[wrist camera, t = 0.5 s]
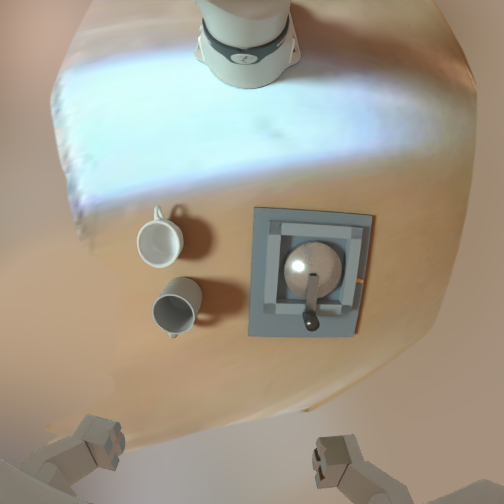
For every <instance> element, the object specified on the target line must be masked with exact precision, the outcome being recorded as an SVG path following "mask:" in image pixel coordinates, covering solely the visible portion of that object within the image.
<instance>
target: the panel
mask: <svg viewBox="0 0 504 504" xmlns="http://www.w3.org/2000/svg"><path fill="white" fill-rule="evenodd" d="M371 224H372V216H371V215H364V214H352V213H340V212H327V211H313V210H298V209H282V208H263V207H254V223H253V244H252V265H251V286H250V307H249V327H248V336H259V337H354V332H355V328H356V323H357V318H358V313H359V307H360V302H361V296H362V290H363V284H364V278H365V271H366V265H367V257H368V250H369V242H370V234H371ZM310 240H315V241H320V242H323V243H325V244H327V245H328V246H330V247H331V248H332V249H333V250H334V251H335V252H336V253H337V255H338V257H339V259H340V261H341V267H342V271H341V277H340V280H339V282H338V284H337V285H336V287H335V288H334V289H333V290H332V291H331V292H330V293H328V294H327V295H325V296H323V297H320V298H317V302H316V309H315V314H316V316H317V318H318V320H319V323H320V326H319V328H318V329H317V330H316V331H313V332H311V331H308V330H307V329H306V326H305V324H304V321H303V318H302V313H303V312H304V309H305V300H306V298H302V297H299V296H297V295H296V294H294V293H293V292H292V291H291V290H290V288H289V287H288V285H287V283H286V281H285V277H284V273H283V266H284V261H285V258H286V256H287V255H288V253H289V252H290V250H291V249H292V248H294V247H295V246H296V245H298V244H300V243H302V242H305V241H310Z"/></svg>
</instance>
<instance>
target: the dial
mask: <svg viewBox="0 0 504 504" xmlns="http://www.w3.org/2000/svg"><path fill="white" fill-rule="evenodd" d="M341 271H342V267H341V261H340V259H339V257H338V255H337V253H336V252H335V251H334V250H333V249H332V248H331V247H330V246H328V245H327V244H325V243H323V242H320V241H315V240H310V241H305V242H302V243H300V244H298V245H296V246H295V247H294V248H292V249H291V250H290V252H289V253H288V255H287V256H286V258H285V261H284V266H283V273H284V277H285V281H286V283H287V285H288V287H289V288H290V290H291V291H292V292H293V293H294V294H296V295H297V296H299V297H302V298H306V300H305V309H304V312H303V313H302V318H303V321H304V324H305V326H306V329H307V330H308V331H311V332H313V331H316V330H317V329H318V328H319V326H320V323H319V320H318V318H317V316H316V314H315V309H316V302H317V298H320V297H323V296H325V295H327V294H328V293H330V292H331V291H332V290H333V289H334V288H335V287H336V285H337V284H338V282H339V280H340V277H341Z"/></svg>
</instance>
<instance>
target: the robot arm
mask: <svg viewBox="0 0 504 504" xmlns="http://www.w3.org/2000/svg"><path fill="white" fill-rule="evenodd" d="M193 1H194V2H195V3H196V4H197V6H198V8H199V10H200V12H201V14H202V16H203V19H202V22H203V24H201V25H200V31H202V32H201V35H200V36H199V38H198V43H197V46H196V49H195V52H194V55H195V58H196V59H197V60H198V61H200V62H202V63H204V64H205V65H207V66H208V67H209V69H210V70H211V72H212V73H213V74H214V76H215V77H216V78H218V79H219V80H220V81H222V82H223V83H225V84H227V85H229V86H232V87H236V88H243V89H251V88H258V87H262V86H265V85H267V84H269V83H271V82H273V81H274V80H275V79H277V78H278V77H279V76H280V75H281V74H282V73H283V71H284V70H285V69H286V68H288V67H290V66H292V65H294V64H296V63H298V62H299V61H300V59H301V54H300V49H299V45H298V41H297V37H296V33H295V29H294V25H293V21H292V17H291V13H290V4H291V0H193ZM293 50H294V51H295V52H293ZM120 430H121V425H120V423H119V422H115V421H112V420H108V419H104V418H101V417H97V416H94V415H90V414H87V415H85V417H84V418H83V420H82V421H81V423H80V424H79V426H78V428H77V429H76V431H75V432H74V434H73V436H72V437H71V436H68V437H66V438H64V439H61V440H59V441H57V442H55V443H52V444H50V445H48V446H46V447H43V448H41V449H38V450H36V451H34V452H31V453H30V455H29V456H28V457H27V459H26V460H25V462H24V463H23V465H22V466H21V468H20V469H19V470H18V469H17V468H15V467H13V466H11V465H10V464H8V463H6V462H5V461H3V460H2V459H0V504H93V503H90V502H88V501H85V500H82V499H80V498H77V495H76V493H75V492H74V490H73V489H72V488H71V485H73V484H74V483H76V482H77V481H79V480H80V479H82V478H83V477H85V476H86V475H88V474H89V473H91V472H92V471H93V470H95V469H96V468H97V467H101V468H104V469H108V470H112V471H115V470H116V468H117V466H118V463H119V458H118V456H119V455H121V454H122V453H123V451H124V449H125V437H124V434H123V433H121V432H120ZM316 446H317V448H316V449H314V452H313V458H312V463H313V469H314V470H315V471H316V472H317V473H316V476H315V480H316V485H317V489H321V488H331V487H337V488H338V489H339V490H340V491H341V492H342V493H343V494H344V495H345V496H346V497H347V498H348V499H349V500H350V501H351V502H353V503H354V504H414V503H413V500H412V498H411V496H410V493H409V491H408V489H407V487H406V485H404V484H402V483H400V482H399V481H398V480H396V479H394V478H392V477H391V476H390V475H388V474H387V473H385V472H383V471H382V470H381V469H379V468H378V467H376V466H375V465H373V464H372V463H370V462H369V461H364V458H363V456H362V453H361V450H360V448H359V445H358V443H357V440H356V437H355V435H353V434H352V435H344V436H332V437H321V438H318V439H317V441H316ZM425 504H504V486H502V485H500V484H497V483H494V482H492V481H489V480H485V479H482V480H479V481H476V482H474V483H472V484H470V485H468V486H466V487H463V488H461V489H459V490H457V491H455V492H453V493H450V494H448V495H445V496H443V497H440V498H438V499H435V500H433V501H430V502H427V503H425Z"/></svg>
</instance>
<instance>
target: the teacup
mask: <svg viewBox="0 0 504 504" xmlns="http://www.w3.org/2000/svg"><path fill="white" fill-rule="evenodd" d="M158 212H159V215H158ZM183 245H184V241H183V234H182V231H181V230H180V228H179V227H178V226H177V225H176V224H174V223H173V222H171V221H169V220H166V219H165V218H164V216H163V214H162V211H161V208H160V206H156V207H155V210H154V220H153V221H151V222H149V223H147V224H145V225H144V226H143V227H142V228H141V230H140V232H139V234H138V237H137V248H138V251H139V254H140V256H141V257H142V259H143V260H144V261H145V262H146V263H147V264H149V265H151V266H153V267H157V268H163V267H167V266H169V265H171V264H172V263H173V262H174V261H175V260H176V259H177V258H178V256H179V255H180V253H181V251H182V249H183Z"/></svg>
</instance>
